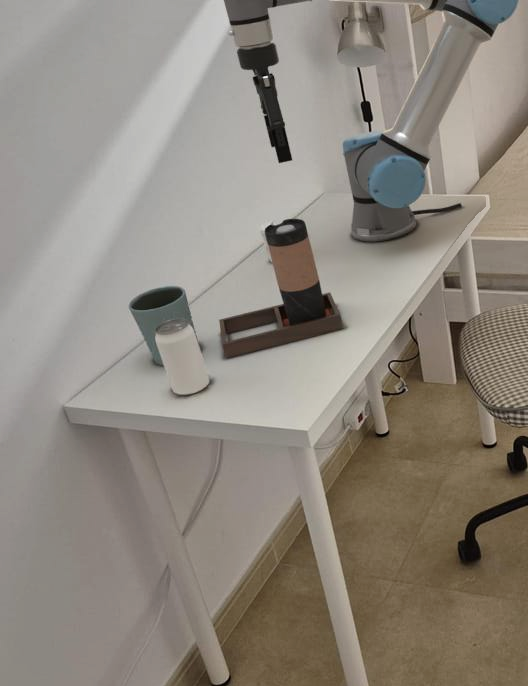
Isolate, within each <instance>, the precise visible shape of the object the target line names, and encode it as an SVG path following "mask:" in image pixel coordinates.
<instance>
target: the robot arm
mask: <svg viewBox="0 0 528 686" xmlns="http://www.w3.org/2000/svg"><path fill="white" fill-rule="evenodd" d="M312 1H313V0H223V4H224V7H225V10H226V11H225V12H226V14H227V17H228V21H229V25H230V28H231V30H229V31H228V35H229V36H230V37H233V41H234V44H235V46H236V47H237V48H238V49H237V50H236V55H237V59H238V61H239V66H240V68H241V70H244V71H252V72H253V75H254V76H252V81H253V85H254V87H255V90H256V94H257V95H258V97H259V102H260V108H261V110H262V111H261V112H262V114H263V119H264V122H265V126H266V130H267V134H268V138H269V144H270V147H271V148H274V150H275V153H276V158H277V161H278V164H282V163H287V162H291V161H293V156H292V152H291V148H290V144H289V140H288V136H287V131H286V123H285V121H284V117H283V114H282V110H281V107H280V103H279V98H278V90H277V86H276V78H275V75H274V74H273V72H271V73H270V70H269V67H273V66H276V65H277V64H279V62H280V58H279V52H278V50H277V45H276V44H275V43H274V42H273V41H275V34H274V30H273V26H272V22H271V18H270V13H269V9H271V8H272V9H273V8H277V7H282V6H287V5H293V4H299V3H305V2H312ZM331 1H332V2H354V3H355V2H356V3H379V4H398V5H399V4H400V5H401V4H402V5H405V4H406V5H419V6H420V7H421V9H422V10H424V11H438V12H441V15H442V20H443V24H442V27H441V28H440V30H439V33H438V35H437V37H436V38H435V41H434V42H433V45H432V47H431V49H430V51H429V53H428V55H427V57H426V59H425V61H424V63H423V65H422V67H421V69H420V71H419V73H418V75H417V77H416V80H415V81H414V83H413V85H412V87H411V90H410V91H409V93H408V95H407V98H406V100H405V101H404V103H403V106H402V108H401V110H400V112H399V114H398V116H397V118H396V120H395V122H394V124H393V126H392V128H390V129H386V130H383V129H382V130H375V131H374V130H373V131H368V132H363V133H359V134H355V135H352V136H349V137H347V138H346V139H344V140H343V142H342V151H343V153H342V155H343V158H344V161H345V166H346V172H347V177H348V181H349V186H350V191H351V195H352V200H353V207H352V208H353V209H352V217H351V218H352V219H351V220H352V221H351V227H350V229H351V234H352V237H353V238H354V239H356V240H358V241H361V242H367V243H370V242H371V243H372V242H373V243H374V242H384V241H389V240H393V239H397V238H400V237H402V236H405V235H407V234H409V233H410V232H412V231H413V230H414V229H415V228H416V225H417V223H416V216H418V215H426V214H427V215H428V214H438V213H439V214H440V213H445V212H446V213H447V212H450V211H453V210H456V209H460V208H462V203H461V202H459V203H456V204H453V205H449V206H445V207H439V208H427V209H420V210H419V209H418V210H412V208H411V207H410V206H411V205H412V204H413V203H415V202H416V201H418V199H419V198H420V197H421V195H423V192H424V190H425V187H426V173H425V170H426V168H427V166H428V165H429V162H430V160H431V158H432V157H431V154H430V150H429V146H430V144H431V142H432V141H433V138H434V136H435V134H436V132H437V130H438V129H439V126H440V125H441V122H442V120H443V119H444V117H445V114H446V113H447V111H448V108H449V107H450V105H451V103H452V101H453V98H455V95H456V93H457V91H458V88H459V87H460V85H461V83H462V81H463V79H464V77H465V75H466V73H467V70H468V69H469V68H470V65H471V63H472V61H473V59H474V57H475V56H476V53H477V51H478V49H479V47H480V45H481V44H483V43H485V42H488V41H491V40H492V37H493V36H494V34H495V32H496V30H497V28H498V26H499V25H500V24H502V23H504V22H506V21H508V20H509V19H510V18H511V17H512V16H513V15H514V13H515V11H516V9H517V7H518V4H519V0H330V2H331Z"/></svg>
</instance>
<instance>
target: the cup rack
mask: <svg viewBox="0 0 528 686" xmlns="http://www.w3.org/2000/svg"><path fill="white" fill-rule="evenodd" d="M322 296H323V301H324V306H325V311H326V316H327V317H323V318H319V319H315V320H311V321H307V322H303V323H299V324H295V325H291V326H290V323H289V320H288V317H287V313H286V310H285V307H284V303H280V304H277V305H274V306H269V307H265V308H261V309H257V310H253V311H248V312H245V313H241V314H237V315H233V316H229V317H224V318H221V319H220V318H219V320H218V322H219V328H220V336H221V343H222V347H223V351H224V354H225V357H226V359H231V358H235V357H238V356H242V355H245V354H250V353H254V352H257V351H262V350H265V349H269V348H273V347H274V348H275V347H278V346H281V345H282V346H283V345H285V344H289V343H293V342H296V341H300V340H304V339H307V338H308V339H309V338H314V337H316V336H321V335H325V334H328V333H332V332H335V331H339V330H340V331H341V330H344V326H343V321H342V317H341V314H340V312H339V309H338V307H337V305H336V302H335V300H334V298H333V295H332V293H331V292H330V291H329V292H326V293H322ZM276 322H277V324H278V328H276V329H272V330H268V331H264V332H260V333H255V334H252V335H248V336H244V337H240V338H236V339H231V340H229V334H232V333H236V332H240V331H244V330H249V329H252V328H256V327H260V326H264V325H268V324H271V323H276Z"/></svg>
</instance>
